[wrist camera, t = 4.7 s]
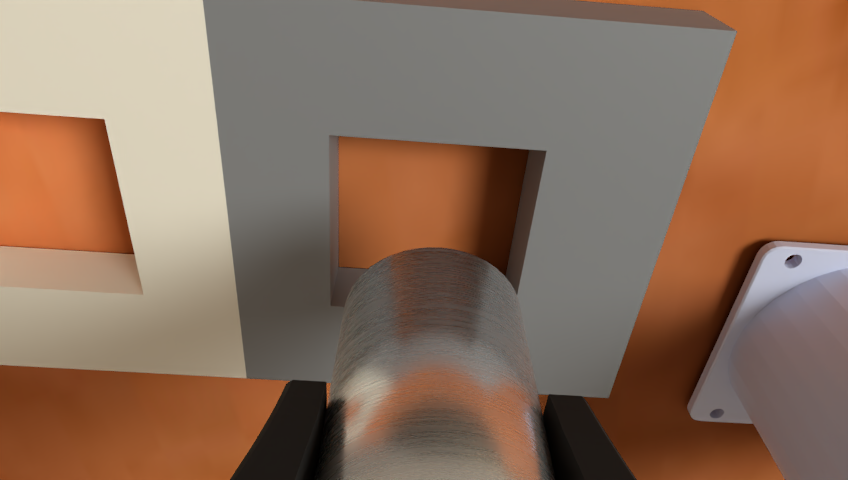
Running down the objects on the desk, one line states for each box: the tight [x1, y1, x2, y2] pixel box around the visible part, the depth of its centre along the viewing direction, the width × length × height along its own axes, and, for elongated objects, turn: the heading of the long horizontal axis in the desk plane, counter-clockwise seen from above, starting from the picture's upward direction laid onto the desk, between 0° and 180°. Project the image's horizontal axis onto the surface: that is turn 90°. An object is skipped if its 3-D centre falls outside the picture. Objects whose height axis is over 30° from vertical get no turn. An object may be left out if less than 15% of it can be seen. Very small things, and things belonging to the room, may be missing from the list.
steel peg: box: [314, 248, 556, 480], centre depth 10 cm, size 4×4×8 cm
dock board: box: [0, 0, 737, 398], centre depth 17 cm, size 24×12×2 cm, turn 86°
